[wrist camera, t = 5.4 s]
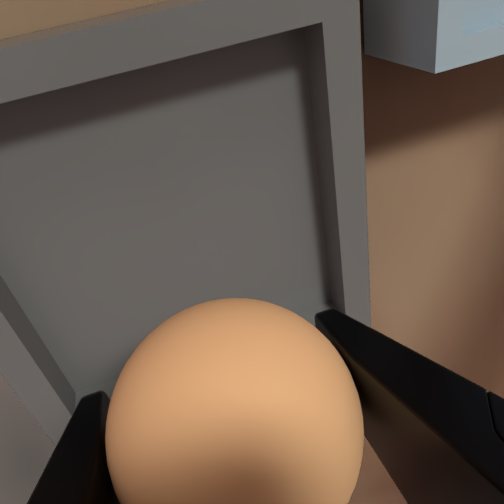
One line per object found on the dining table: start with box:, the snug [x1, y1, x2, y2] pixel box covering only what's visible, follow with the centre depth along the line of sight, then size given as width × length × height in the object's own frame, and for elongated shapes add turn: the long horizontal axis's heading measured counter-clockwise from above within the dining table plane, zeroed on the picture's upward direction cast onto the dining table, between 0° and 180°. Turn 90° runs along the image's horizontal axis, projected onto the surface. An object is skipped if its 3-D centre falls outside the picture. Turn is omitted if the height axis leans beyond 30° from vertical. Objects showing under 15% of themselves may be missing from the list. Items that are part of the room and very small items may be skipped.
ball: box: [105, 298, 364, 504], centre depth 8 cm, size 4×4×4 cm
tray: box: [0, 0, 371, 446], centre depth 14 cm, size 12×12×2 cm
